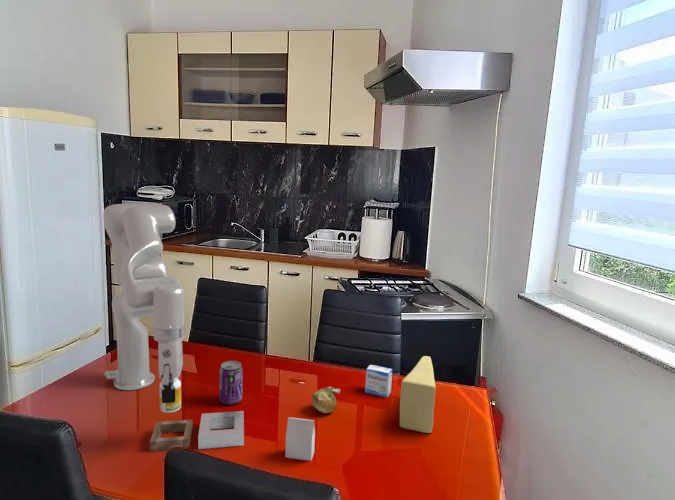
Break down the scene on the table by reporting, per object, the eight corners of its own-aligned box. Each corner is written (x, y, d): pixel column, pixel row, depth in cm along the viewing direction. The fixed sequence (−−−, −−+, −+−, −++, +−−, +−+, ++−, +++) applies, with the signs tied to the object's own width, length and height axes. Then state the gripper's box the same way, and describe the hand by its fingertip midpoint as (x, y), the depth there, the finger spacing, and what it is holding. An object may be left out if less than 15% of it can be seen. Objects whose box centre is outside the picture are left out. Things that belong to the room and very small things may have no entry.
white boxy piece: (311, 461, 117) (312, 424, 115) (285, 457, 118) (286, 421, 116) (314, 452, 120) (315, 417, 119) (289, 448, 121) (290, 413, 120)
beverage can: (236, 407, 141) (236, 370, 139) (215, 404, 142) (215, 368, 140) (246, 396, 148) (246, 361, 146) (225, 394, 149) (225, 359, 147)
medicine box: (364, 393, 153) (365, 368, 152) (368, 387, 158) (370, 363, 156) (387, 398, 151) (388, 373, 149) (391, 392, 155) (392, 368, 153)
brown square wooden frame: (150, 451, 118) (149, 442, 118) (156, 430, 127) (156, 422, 127) (189, 447, 120) (188, 439, 120) (192, 427, 129) (192, 419, 129)
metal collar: (198, 449, 120) (198, 436, 119) (201, 425, 131) (201, 413, 130) (243, 445, 122) (243, 433, 121) (243, 422, 133) (243, 410, 133)
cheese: (410, 394, 154) (413, 351, 152) (439, 399, 151) (443, 356, 149) (397, 428, 133) (401, 379, 131) (431, 435, 130) (435, 385, 128)
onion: (321, 401, 147) (321, 378, 145) (341, 410, 142) (342, 385, 141) (305, 411, 140) (306, 386, 139) (326, 420, 136) (327, 394, 135)
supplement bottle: (185, 405, 124) (185, 371, 123) (172, 415, 119) (171, 380, 118) (169, 401, 126) (168, 368, 124) (155, 410, 121) (154, 376, 119)
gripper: (180, 344, 111) (181, 412, 115) (188, 320, 128) (188, 380, 131) (147, 345, 110) (149, 414, 113) (159, 320, 126) (160, 381, 130)
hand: (170, 395), depth 122 cm, fingers closed on supplement bottle, 5 cm apart
